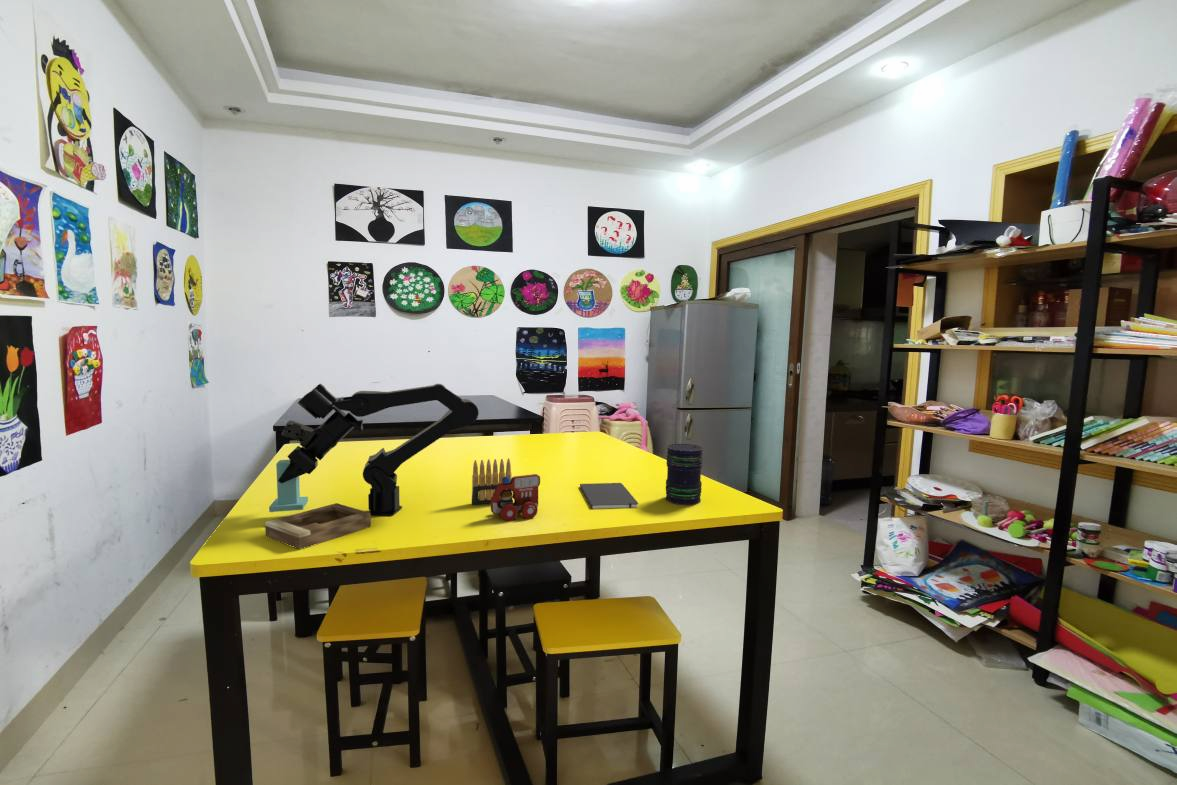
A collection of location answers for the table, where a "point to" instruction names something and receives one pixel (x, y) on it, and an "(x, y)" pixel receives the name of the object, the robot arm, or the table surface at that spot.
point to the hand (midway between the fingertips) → (281, 479)
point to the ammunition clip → (487, 481)
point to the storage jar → (684, 474)
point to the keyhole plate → (317, 525)
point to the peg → (287, 492)
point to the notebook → (608, 495)
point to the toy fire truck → (516, 497)
